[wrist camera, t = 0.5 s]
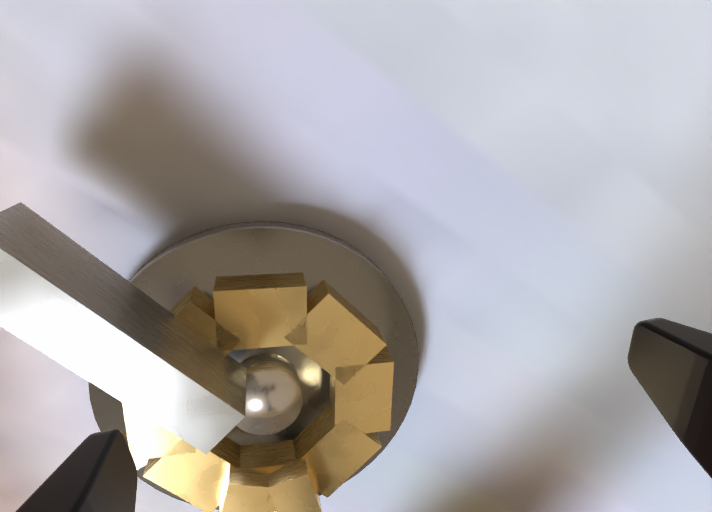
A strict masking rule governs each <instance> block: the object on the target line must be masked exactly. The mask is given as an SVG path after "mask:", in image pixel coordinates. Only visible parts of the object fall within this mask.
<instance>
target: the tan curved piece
mask: <svg viewBox="0 0 712 512" xmlns="http://www.w3.org/2000/svg"><path fill="white" fill-rule="evenodd" d="M213 298H214V301H213V300H212V299H211V298H209V297H208V296H207V295H205V294H204V293H203V292H202V291H200V290H199V289H198V288H196V287H195V286H194V287H193V288H192V289H191V290H190V291H189V292H188V293H187V294H186V295H185V296H184V297H183V298H182V299H181V300H180V301H179V302H178V303H177V304H176V305H175V306H174V307H173V308H172V309H171V310H170V311H168V310H167V309H166V308H164V307H163V306H161V305H160V304H159V303H157V302H156V301H155V300H153V299H152V298H151V297H149V296H148V295H146V294H145V293H144V292H142V291H141V290H140V289H138V288H137V287H136V286H134V285H133V284H132V283H130V282H129V281H127V280H126V279H125V278H123V277H122V276H121V275H119V274H118V273H117V272H115V271H114V270H112V269H111V268H110V267H108V266H107V265H106V264H104V263H103V262H102V261H100V260H99V259H98V258H96V257H95V256H93V255H92V254H91V253H89V252H88V251H87V250H85V249H84V248H83V247H81V246H80V245H78V244H77V243H76V242H74V241H73V240H72V239H70V238H69V237H68V236H66V235H65V234H64V233H62V232H61V231H59V230H58V229H57V228H55V227H54V226H53V225H51V224H50V223H49V222H47V221H46V220H44V219H43V218H42V217H40V216H39V215H38V214H36V213H35V212H34V211H32V210H31V209H29V208H28V207H27V206H25V205H24V204H23V203H21V202H20V203H18V204H16V205H14V206H12V207H10V208H8V209H6V210H3V211H1V212H0V326H1V327H3V328H4V329H6V330H8V331H9V332H11V333H12V334H14V335H16V336H17V337H19V338H20V339H22V340H24V341H25V342H27V343H28V344H30V345H32V346H33V347H35V348H36V349H38V350H40V351H41V352H43V353H44V354H46V355H48V356H49V357H51V358H52V359H54V360H56V361H57V362H59V363H60V364H62V365H64V366H65V367H67V368H68V369H70V370H72V371H73V372H75V373H76V374H78V375H80V376H81V377H83V378H84V379H86V380H88V381H89V382H91V383H92V384H94V385H96V386H97V387H99V388H100V389H102V390H104V391H105V392H107V393H108V394H110V395H112V396H113V397H115V398H117V399H118V400H120V401H121V402H122V404H123V411H124V418H125V424H126V431H127V437H128V444H129V449H130V452H131V454H132V457H133V459H134V460H138V459H147V458H148V460H147V464H146V467H145V471H144V474H143V477H145V478H147V479H149V480H150V481H152V482H154V483H156V484H157V485H159V486H161V487H163V488H164V489H166V490H168V491H170V492H171V493H173V494H175V495H177V496H178V497H180V498H182V499H184V500H185V501H187V502H189V503H191V504H192V505H194V506H196V507H198V508H199V509H201V510H203V511H205V512H212V511H213V510H215V509H216V508H217V507H218V506H219V505H220V506H219V510H218V512H274V511H277V512H322V511H321V505H320V498H319V494H318V492H320V493H321V494H323V495H324V496H326V497H327V498H328V497H329V496H330V495H331V494H332V493H333V492H334V491H335V490H336V489H337V488H338V487H340V486H341V485H342V484H343V483H344V482H345V481H346V480H347V479H348V478H349V477H350V476H351V475H352V474H354V473H355V472H356V471H357V470H358V469H359V468H360V467H361V466H362V465H363V464H364V463H365V462H366V461H367V460H369V459H370V458H371V457H372V456H373V455H374V454H375V453H376V452H377V451H378V450H379V449H380V448H381V447H382V446H381V444H380V441H379V438H378V435H377V433H376V432H381V431H390V426H391V407H392V389H393V371H394V361H393V359H392V357H391V355H390V353H389V352H388V350H387V348H386V345H387V344H386V342H385V340H384V339H383V337H382V335H381V333H380V331H379V329H378V328H377V327H376V326H375V325H374V324H373V323H372V322H371V321H370V320H368V319H367V318H366V317H365V316H364V315H363V314H362V313H361V312H359V311H358V310H357V309H356V308H355V307H354V306H353V305H352V304H350V303H349V302H348V301H347V300H346V299H345V298H344V297H343V296H341V295H340V294H339V293H338V292H337V291H336V290H335V289H334V288H332V287H331V286H330V285H329V284H328V283H327V282H326V281H325V280H324V279H323V280H322V281H321V282H320V283H319V284H318V285H317V286H316V287H315V288H314V289H313V290H312V291H311V292H310V293H309V294H308V295H307V286H306V282H305V278H304V275H303V272H301V273H280V274H259V275H238V276H217V277H216V279H215V284H214V289H213ZM293 345H294V346H295V347H296V348H298V349H299V350H300V351H301V352H303V353H304V354H305V355H307V356H308V357H309V358H310V359H312V360H313V361H314V362H315V363H317V364H318V365H319V366H320V367H322V368H323V369H324V370H325V371H327V372H328V373H329V374H330V405H329V406H328V407H327V408H326V409H325V410H324V411H323V412H322V413H321V414H320V415H319V416H318V417H317V418H316V419H314V420H313V421H312V422H311V423H310V424H309V425H308V426H307V427H306V428H305V429H304V430H303V431H302V432H301V433H300V434H299V435H298V436H297V437H296V438H295V439H294V440H286V441H277V442H268V443H260V444H251V445H242V446H240V445H239V444H237V443H236V442H234V441H233V440H231V439H230V438H228V437H227V436H226V435H227V434H228V433H229V432H230V431H231V430H232V429H233V428H234V427H235V426H236V425H237V424H238V423H239V422H240V421H241V420H242V419H243V418H244V417H245V408H246V369H247V368H246V367H244V366H243V365H242V364H240V363H239V362H238V361H236V360H235V359H234V358H232V357H231V356H229V355H228V353H229V352H230V351H232V350H240V349H253V348H266V347H279V346H293ZM317 491H318V492H317Z"/></svg>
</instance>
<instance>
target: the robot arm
mask: <svg viewBox="0 0 712 512" xmlns="http://www.w3.org/2000/svg"><path fill="white" fill-rule="evenodd" d="M628 364H629V367H630V369H631V371H632V373H633V374H634V376H635V377H636V378H637V380H638V381H639V383H640V384H641V385H642V387H643V388H644V390H645V391H646V393H647V394H648V395H649V397H650V398H651V400H652V401H653V403H654V404H655V405H656V407H657V408H658V410H659V411H660V413H661V414H662V415H663V417H664V418H665V420H666V421H667V423H668V424H669V425H670V427H671V428H672V430H673V431H674V432H675V434H676V435H677V437H678V438H679V439H680V441H681V442H682V443H683V445H684V446H685V447H686V448H687V449H688V451H689V452H690V453H691V454H692V456H693V457H694V458H695V459H696V460H697V462H698V463H699V464H700V465H701V466H702V468H703V469H704V470H705V471H706V472H707V473H708V475H709V476H710V477H711V478H712V334H711V333H708V332H705V331H702V330H698V329H695V328H692V327H689V326H685V325H682V324H679V323H676V322H673V321H669V320H666V319H662V318H654V319H649V320H644V321H640V322H638V323H637V324H636V326H635V327H634V330H633V335H632V339H631V344H630V349H629V353H628ZM136 490H137V468H136V464H135V462H134V459H133V457H132V454H131V452H130V449H129V447H128V444H127V442H126V440H125V437H124V435H123V433H122V432H121V431H120V430H118V429H112V430H107V431H102V432H97V433H94V434H91V435H90V436H88V437H87V438H86V439H85V440H84V441H83V442H82V443H81V444H80V445H79V446H78V447H77V448H76V449H75V451H74V452H73V453H72V454H71V455H70V456H69V457H68V458H67V459H66V460H65V461H64V462H63V463H62V464H61V465H60V466H59V467H58V468H57V469H56V470H55V471H54V472H53V473H52V474H51V475H50V476H49V477H48V479H47V480H46V481H45V482H44V483H43V484H42V485H41V486H40V487H39V488H38V489H37V490H36V491H35V492H34V493H33V494H32V495H31V496H30V497H29V498H28V499H27V500H26V501H25V502H24V503H23V504H22V505H21V506H20V508H19V509H18V510H17V511H16V512H135V501H136Z"/></svg>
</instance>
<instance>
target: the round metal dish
mask: <svg viewBox="0 0 712 512" xmlns="http://www.w3.org/2000/svg"><path fill="white" fill-rule="evenodd" d="M301 272H303V275H304V278H305V282H306V286H307V295H308V294H309V293H310V292H311V291H312V290H313V289H314V288H315V287H316V286H317V285H318V284H319V283H320V282H321V281H322V280H323V279H324V280H325V281H326V282H327V283H328V284H329V285H330V286H331V287H332V288H334V289H335V290H336V291H337V292H338V293H339V294H340V295H341V296H343V297H344V298H345V299H346V300H347V301H348V302H349V303H350V304H352V305H353V306H354V307H355V308H356V309H357V310H358V311H359V312H361V313H362V314H363V315H364V316H365V317H366V318H367V319H368V320H370V321H371V322H372V323H373V324H374V325H375V326H376V327H377V328H378V329H379V331H380V333H381V335H382V337H383V339H384V340H385V342H386V344H387V345H386V348H387V350H388V352H389V353H390V355H391V357H392V359H393V361H394V371H393V389H392V407H391V426H390V431H381V432H376V433H377V435H378V438H379V441H380V444H381V446H382V447H381V448H380V449H379V450H378V451H377V452H376V453H375V454H374V455H373V456H372V457H371V458H370V459H369V460H367V461H366V462H365V463H364V464H363V465H362V466H361V467H360V468H359V469H358V470H357V471H356V472H355V473H354V474H352V475H351V476H350V477H349V478H348V479H347V480H346V481H348V480H349V479H351V478H352V477H354V476H355V475H356V474H358V473H359V472H360V471H361V470H363V469H364V468H365V467H366V466H367V465H369V464H370V463H371V462H372V461H373V460H374V459H375V458H376V457H377V456H378V455H379V454H380V453H381V452H382V451H383V450H384V449H385V447H386V446H387V445H388V443H389V442H390V441H391V439H392V438H393V437H394V435H395V434H396V432H397V431H398V429H399V427H400V426H401V424H402V422H403V420H404V418H405V416H406V414H407V412H408V409H409V407H410V405H411V402H412V398H413V395H414V391H415V388H416V382H417V375H418V347H417V340H416V334H415V331H414V328H413V324H412V321H411V318H410V316H409V314H408V312H407V309H406V307H405V305H404V303H403V301H402V300H401V298H400V297H399V295H398V294H397V292H396V291H395V289H394V288H393V286H392V285H391V283H390V282H389V281H388V279H387V278H386V277H385V275H384V274H383V273H382V272H381V271H380V270H379V269H378V268H377V267H376V266H375V264H374V263H373V262H371V261H370V260H369V259H368V258H367V257H365V256H364V255H363V254H362V253H361V252H359V251H358V250H356V249H355V248H353V247H352V246H350V245H348V244H347V243H345V242H344V241H342V240H340V239H338V238H335V237H333V236H331V235H329V234H326V233H324V232H322V231H318V230H315V229H311V228H308V227H305V226H301V225H295V224H289V223H282V222H261V221H257V222H245V223H235V224H230V225H226V226H221V227H216V228H212V229H209V230H206V231H204V232H201V233H198V234H195V235H192V236H190V237H188V238H186V239H184V240H182V241H180V242H178V243H176V244H174V245H172V246H170V247H169V248H167V249H166V250H164V251H163V252H161V253H160V254H158V255H157V256H156V257H154V258H153V259H151V260H150V261H149V262H148V263H147V264H146V265H145V266H144V267H142V268H141V269H140V270H139V271H138V272H137V273H136V274H135V275H134V276H133V277H132V279H131V280H130V281H129V282H130V283H132V284H133V285H134V286H136V287H137V288H138V289H140V290H141V291H142V292H144V293H145V294H146V295H148V296H149V297H151V298H152V299H153V300H155V301H156V302H157V303H159V304H160V305H161V306H163V307H164V308H166V309H167V310H168V311H170V310H171V309H172V308H173V307H174V306H175V305H176V304H177V303H178V302H179V301H180V300H181V299H182V298H183V297H184V296H185V295H186V294H187V293H188V292H189V291H190V290H191V289H192V288H193V287H194V286H195V287H196V288H198V289H199V290H200V291H202V292H203V293H204V294H205V295H207V296H208V297H209V298H211V299H212V300H213V301H214V298H213V289H214V284H215V279H216V277H217V276H238V275H259V274H280V273H301ZM228 355H229V356H231V357H232V358H234V359H235V360H236V361H238V362H239V363H240V364H242V365H243V366H244V367H246V368H247V369H246V408H245V417H244V418H243V419H242V420H241V421H240V422H239V423H238V424H237V425H236V426H235V427H234V428H233V429H232V430H231V431H230V432H229V433H228V434H227V435H226V436H227V437H228V438H230V439H231V440H233V441H234V442H236V443H237V444H239V445H240V446H242V445H251V444H260V443H268V442H277V441H286V440H294V439H295V438H296V437H297V436H298V435H299V434H300V433H301V432H302V431H303V430H304V429H305V428H306V427H307V426H308V425H309V424H310V423H311V422H312V421H313V420H314V419H316V418H317V417H318V416H319V415H320V414H321V413H322V412H323V411H324V410H325V409H326V408H327V407H328V406H329V405H330V374H329V373H328V372H327V371H325V370H324V369H323V368H322V367H320V366H319V365H318V364H317V363H315V362H314V361H313V360H312V359H310V358H309V357H308V356H307V355H305V354H304V353H303V352H301V351H300V350H299V349H298V348H296V347H295V346H294V345H293V346H279V347H266V348H253V349H240V350H232V351H230V352H229V353H228ZM88 383H89V393H90V401H91V405H92V409H93V413H94V416H95V420H96V422H97V424H98V426H99V429H100V431H101V432H102V431H107V430H112V429H118V430H120V431H121V432H122V433H123V435H124V437H125V440H126V442H127V444H128V437H127V431H126V424H125V418H124V411H123V404H122V402H121V401H120V400H118V399H117V398H115V397H113V396H112V395H110V394H108V393H107V392H105V391H104V390H102V389H100V388H99V387H97V386H96V385H94V384H92V383H91V382H89V381H88ZM128 447H129V444H128ZM147 460H148V458H147V459H138V460H134V462H135V464H136V468H137V476H138V477H139V478H140V479H141V480H143V481H144V482H146V483H147V484H149V485H150V486H152V487H154V488H155V489H157V490H159V491H161V492H163V493H165V494H167V495H169V496H171V497H173V498H176V499H178V500H181V501H184V502H187V501H185V500H184V499H182V498H180V497H178V496H177V495H175V494H173V493H171V492H170V491H168V490H166V489H164V488H163V487H161V486H159V485H157V484H156V483H154V482H152V481H150V480H149V479H147V478H145V477H143V474H144V471H145V467H146V464H147ZM346 481H345V482H346ZM345 482H344V483H345ZM317 492H318V491H317ZM318 494H319V495H322V494H321V493H320V492H318ZM187 503H189V502H187ZM190 504H191V503H190ZM219 506H220V505H219ZM219 506H218V507H217V508H216V509H218V510H219Z"/></svg>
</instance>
